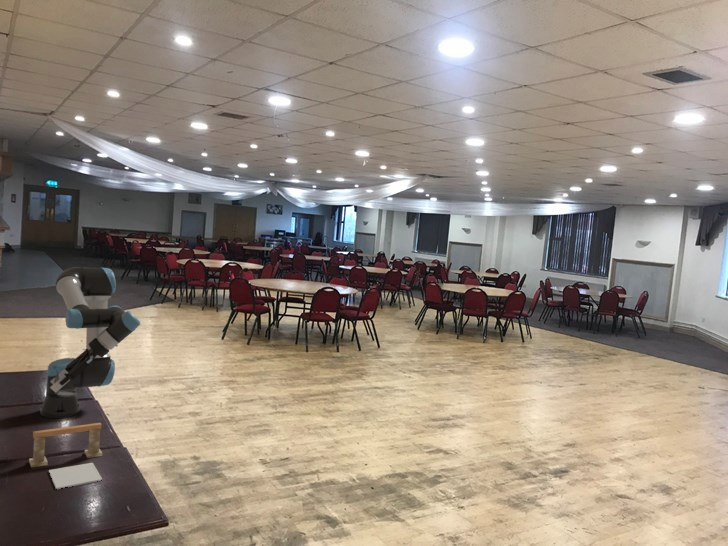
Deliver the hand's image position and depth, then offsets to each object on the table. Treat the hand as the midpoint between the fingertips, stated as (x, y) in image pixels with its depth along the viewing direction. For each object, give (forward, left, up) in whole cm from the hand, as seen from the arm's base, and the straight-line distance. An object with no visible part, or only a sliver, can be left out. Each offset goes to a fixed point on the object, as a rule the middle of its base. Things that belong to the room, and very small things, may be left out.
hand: (53, 386), depth 206 cm
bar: (+4, +13, -13) cm, 19 cm away
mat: (+13, +25, -23) cm, 37 cm away
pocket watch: (-3, +2, -4) cm, 5 cm away
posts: (+4, +13, -23) cm, 27 cm away
